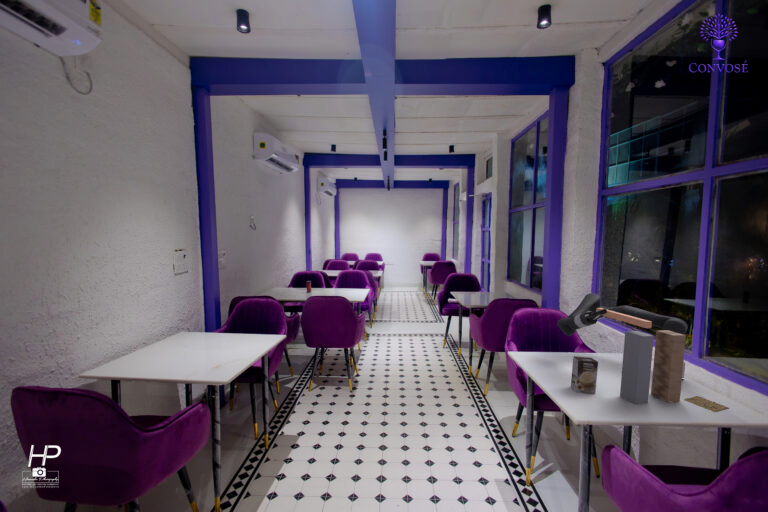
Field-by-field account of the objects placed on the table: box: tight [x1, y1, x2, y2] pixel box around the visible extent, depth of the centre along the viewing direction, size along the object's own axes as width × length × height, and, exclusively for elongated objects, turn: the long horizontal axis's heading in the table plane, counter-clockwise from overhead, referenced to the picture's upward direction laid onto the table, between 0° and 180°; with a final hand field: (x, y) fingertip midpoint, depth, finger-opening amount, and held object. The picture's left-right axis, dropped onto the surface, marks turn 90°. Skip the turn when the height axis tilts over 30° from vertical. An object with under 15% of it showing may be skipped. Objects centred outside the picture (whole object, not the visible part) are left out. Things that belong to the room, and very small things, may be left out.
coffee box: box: [570, 355, 599, 394], centre depth 163 cm, size 9×6×16 cm
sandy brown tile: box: [683, 395, 730, 413], centre depth 154 cm, size 12×12×1 cm
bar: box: [596, 308, 653, 329], centre depth 163 cm, size 28×3×3 cm, turn 10°
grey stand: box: [619, 330, 655, 405], centre depth 155 cm, size 8×7×32 cm
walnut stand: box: [650, 329, 687, 403], centre depth 158 cm, size 8×7×32 cm
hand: (608, 310), depth 170 cm, fingers closed on bar, 3 cm apart
